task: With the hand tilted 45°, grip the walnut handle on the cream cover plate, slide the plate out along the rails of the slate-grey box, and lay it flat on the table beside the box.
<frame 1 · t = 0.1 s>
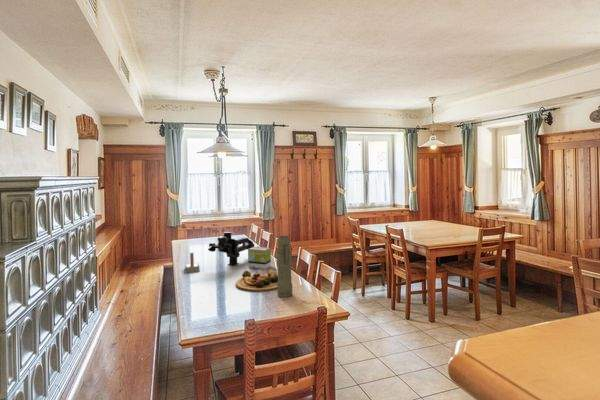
hand: (213, 250, 276), 17 cm above the table, tool horizontal, fingers open, 9 cm apart
tea box: (259, 267, 291), on the table
grey-green tall block: (284, 295, 221), on the table
box: (192, 270, 284), on the table
wooden plate with food: (260, 285, 245), on the table
cover plate: (192, 266, 284), point 2 cm above the table, touching box
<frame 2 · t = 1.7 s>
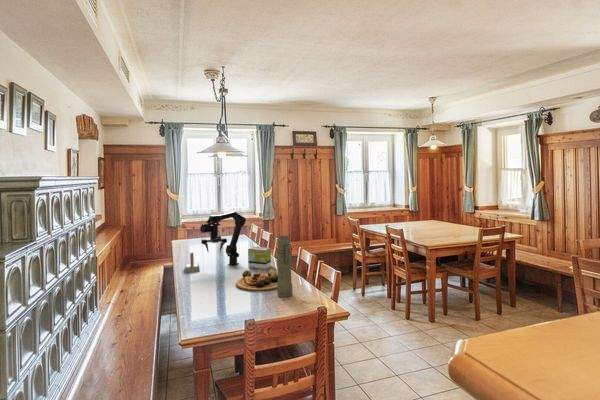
hand: (214, 252, 287), 13 cm above the table, tool pointing down, fingers open, 9 cm apart
nothing on the table moved.
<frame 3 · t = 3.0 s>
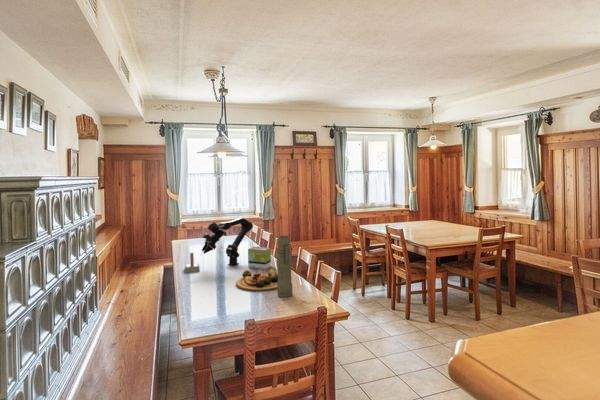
hand: (202, 252, 284), 13 cm above the table, tool tilted 45°, fingers open, 9 cm apart
nothing on the table moved.
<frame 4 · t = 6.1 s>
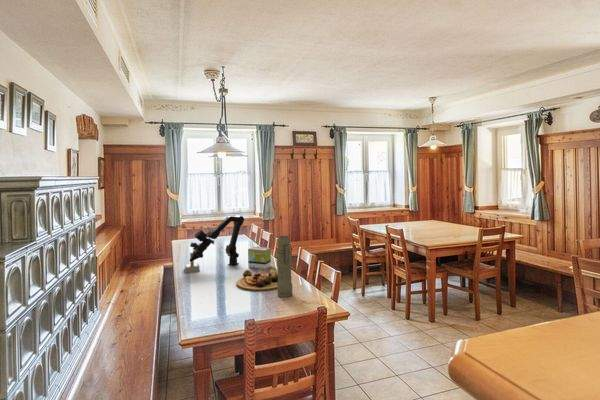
hand: (190, 260, 281), 8 cm above the table, tool tilted 45°, fingers closed on cover plate, 2 cm apart
cover plate: (192, 266, 284), point 2 cm above the table, touching box, gripper
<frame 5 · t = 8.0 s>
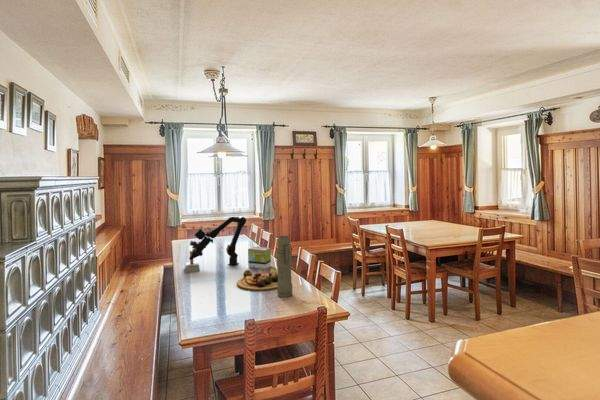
hand: (189, 259, 288), 8 cm above the table, tool tilted 45°, fingers closed on cover plate, 2 cm apart
cover plate: (191, 264, 291), point 3 cm above the table, touching gripper
when the fingers open (6 cm above the table, at t = 10.2 s): cover plate drops 2 cm, on the table.
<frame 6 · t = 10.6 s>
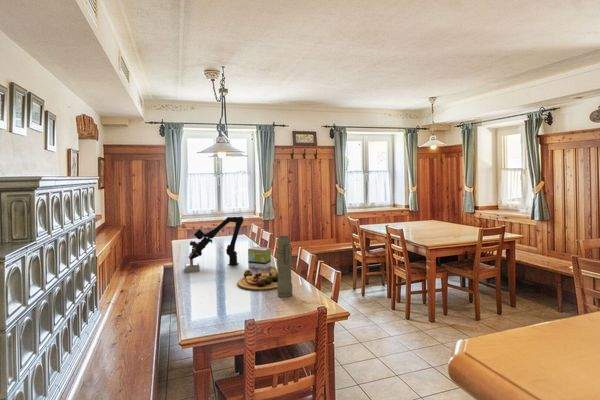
hand: (189, 258, 294), 7 cm above the table, tool tilted 45°, fingers open, 7 cm apart
cover plate: (191, 266, 297), on the table
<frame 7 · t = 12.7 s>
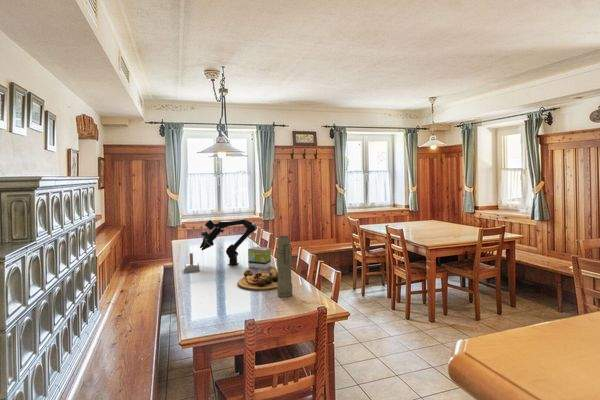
hand: (200, 249, 296), 14 cm above the table, tool tilted 45°, fingers open, 9 cm apart
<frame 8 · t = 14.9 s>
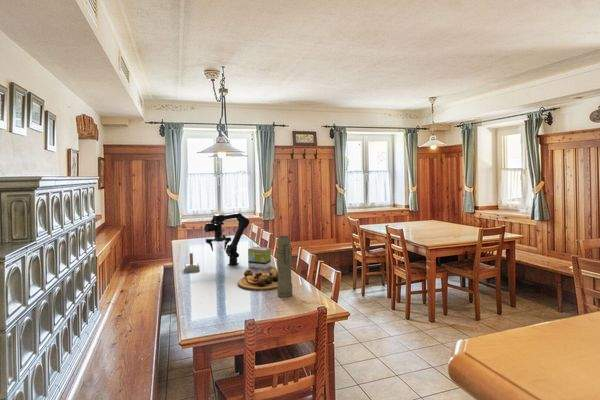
hand: (218, 250, 290), 13 cm above the table, tool pointing down, fingers open, 9 cm apart
at the end: cover plate touching table; cover plate tilted 0° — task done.
